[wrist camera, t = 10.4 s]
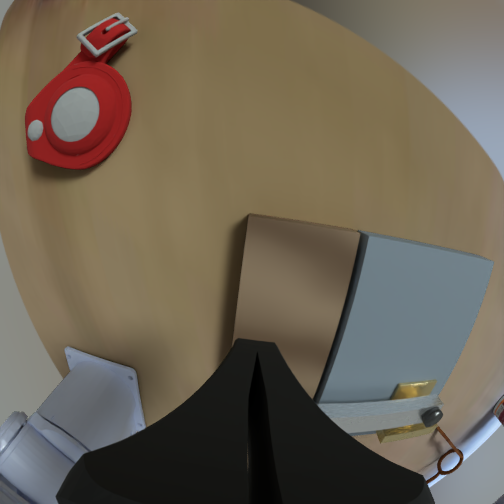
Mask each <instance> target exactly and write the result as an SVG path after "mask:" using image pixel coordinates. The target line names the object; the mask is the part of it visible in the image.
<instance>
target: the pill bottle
mask: <svg viewBox="0 0 504 504" xmlns="http://www.w3.org/2000/svg"><path fill="white" fill-rule="evenodd" d="M493 413H494V414H495V416H496V417H497V418H498V420H499V421H500V422H501V424H502V425H503V426H504V396H503V397H502V398H501V399H500V400H499V401H498V403H497V404H496V405H495V407H494V410H493Z"/></svg>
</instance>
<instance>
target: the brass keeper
mask: <svg viewBox="0 0 504 504" xmlns="http://www.w3.org/2000/svg"><path fill="white" fill-rule="evenodd" d="M436 383H437V380H436V379H434V380H426V381H418V382H407V383H399V384H398V386H397V388H396V389H395V391H394V393H393V395H392V397H391V399H390V400H399V399H407V398H414V397H421V396H427V395H430V393H431V391H432V390H433V388H434V386H435V384H436ZM437 426H438V425H437V424H435V425H433V426H431V427H425V425H424V424H423V423H418V424H413V425H408V426H403V427H397V428H390V429H383V430H376V433H377V436H378V439H379V441H380V443H386V442H392V441H397V440H403V439H408V438H412V437H417V436H421V435H425V434H429V433H432V432H433V431H434V430H435V429H436V427H437Z"/></svg>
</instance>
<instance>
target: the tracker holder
mask: <svg viewBox="0 0 504 504" xmlns="http://www.w3.org/2000/svg"><path fill="white" fill-rule="evenodd" d="M128 20H129V18H127V17H126V18H124V17H123V16H122V15H121V14H120V13H116V14H114V15H112V16H110V17H108V18H106V19H104V20H102V21H100V22H98V23H96V24H95V25H93V26H91V27H89V28H88V29H86V30H84V31H82V32H81V33H79V34H78V35H77V39H78V40H79V41H80V42H81V52H80V53H79V54H78V55H77V56H76V57H75V58H74V59H73V61H72V62H71V63H70V64H69V65H68V66H67V67H66V68H65V69H64V70H63V71H62V72H61V73H60V74H58V75H57V76H56V77H55V78H54V79H52V80H51V81H50V82H49V83H48V84H47V85H46V86H45V87H44V88H43V89H42V90H41V92H40V93H39V94H38V95H37V96H36V97H35V98H34V99H33V101H32V102H31V103H30V104H29V106H28V108H27V110H26V115H25V128H26V140H27V150H28V154H29V155H30V156H31V157H33V158H35V159H38V160H40V161H43V162H46V163H48V164H51V165H54V166H58V167H62V168H67V169H77V170H80V169H87V168H90V167H93V166H95V165H97V164H99V163H100V162H102V161H103V160H105V159H106V158H107V157H108V156H109V155H110V154H111V153H112V152H113V151H114V150H115V148H116V147H117V146H118V144H119V143H120V141H121V140H122V138H123V136H124V134H125V132H126V130H127V127H128V124H129V121H130V116H131V97H130V92H129V89H128V87H127V84H126V82H125V80H124V79H123V77H122V76H121V75H120V74H119V73H118V72H117V71H116V70H115V69H114V68H112V67H111V66H109V65H107V64H106V63H107V62H108V61H109V60H110V59H111V58H112V57H113V56H114V55H115V54H116V53H117V52H118V51H119V49H120V48H121V47H122V46H123V45H124V44H125V42H126V41H127V39H128V38H129V37H131V36H133V35H135V34H137V30H136V29H135V28H134V27H133V26H132V25H131V24H130V23H129V22H128ZM90 32H91V33H90ZM89 33H90V34H89ZM87 34H89V35H88V36H87V37H86V38H85V37H84V36H85V35H87Z"/></svg>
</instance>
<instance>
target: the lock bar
mask: <svg viewBox="0 0 504 504" xmlns="http://www.w3.org/2000/svg"><path fill="white" fill-rule="evenodd" d="M317 405H318V407H319V408H320V409H321V410H322V411H323V412H324V413H325V414H326V415H327V416H328V417H329V418H330V419H331V420H332V421H333V422H334V423H336V424H337V425H338V426H339V427H340V428H341V429H343V430H344V431H345V432H346V433H357V432H367V431H376V430H383V429H390V428H397V427H403V426H408V425H413V424H418V423H423V424H424V425H425V427H431V426H433V425H435V424H436V423H437V422H439V421H440V419H441V418H442V416H443V413H442V412H441V410H440V409H441V408H442V406H443V405H444V404H443V402H442V401H441V399H440V398H439V397H438V395H437V394H433V395H427V396H421V397H414V398H407V399H399V400H389V401H378V402H363V403H335V404H317Z"/></svg>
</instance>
